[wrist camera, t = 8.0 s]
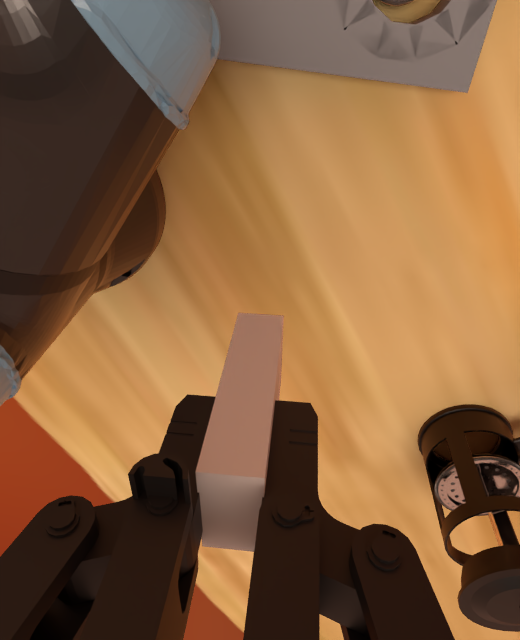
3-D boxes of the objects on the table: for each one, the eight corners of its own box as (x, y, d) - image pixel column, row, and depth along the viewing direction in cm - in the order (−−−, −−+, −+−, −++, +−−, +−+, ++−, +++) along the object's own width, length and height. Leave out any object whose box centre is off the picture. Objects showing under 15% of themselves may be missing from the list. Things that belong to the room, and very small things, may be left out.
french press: (433, 479, 54) (497, 735, 35) (396, 426, 50) (445, 680, 31) (541, 445, 50) (682, 717, 30) (509, 384, 46) (648, 650, 27)
